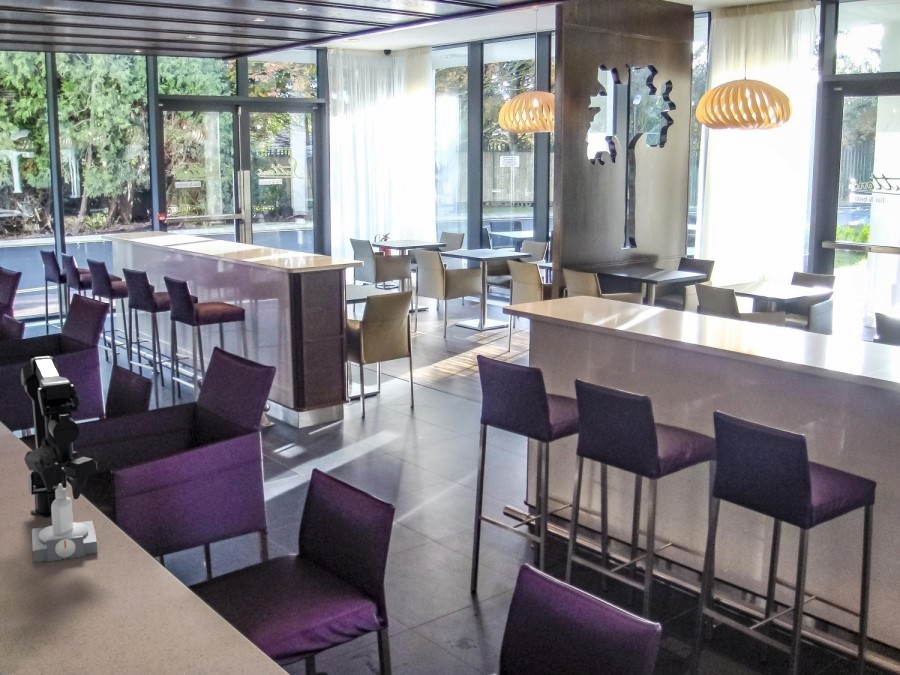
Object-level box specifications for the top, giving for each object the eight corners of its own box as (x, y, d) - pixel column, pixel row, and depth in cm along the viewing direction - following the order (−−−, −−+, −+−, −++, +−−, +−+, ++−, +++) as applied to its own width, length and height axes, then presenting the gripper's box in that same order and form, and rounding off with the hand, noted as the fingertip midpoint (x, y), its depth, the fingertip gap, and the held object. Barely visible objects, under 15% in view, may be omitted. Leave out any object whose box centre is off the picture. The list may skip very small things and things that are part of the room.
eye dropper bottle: (78, 530, 226) (75, 483, 224) (56, 537, 222) (53, 489, 220) (69, 525, 229) (66, 479, 227) (47, 532, 225) (44, 484, 223)
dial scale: (32, 540, 230) (31, 521, 229) (93, 531, 236) (92, 513, 235) (33, 564, 217) (32, 544, 216) (97, 554, 222) (96, 535, 221)
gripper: (3, 435, 219) (7, 498, 222) (57, 448, 210) (61, 513, 213) (43, 424, 229) (47, 484, 232) (96, 435, 220) (100, 498, 223)
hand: (63, 495), depth 225 cm, fingers open, 9 cm apart
